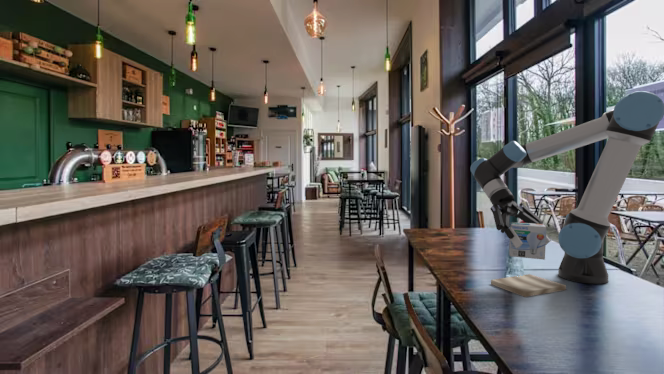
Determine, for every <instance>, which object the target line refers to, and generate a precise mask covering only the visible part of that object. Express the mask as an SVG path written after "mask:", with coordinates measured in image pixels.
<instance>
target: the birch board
mask: <svg viewBox="0 0 664 374" xmlns="http://www.w3.org/2000/svg"><path fill="white" fill-rule="evenodd" d="M522 275H523V276H521V275H514V276H508V277H501V278H494V279H491V280H490V285H492V286H494V287H497V288H501V289H503V290H506V291H508V292H511V293H514V294H515V295H519V296H521V297H524V298H528V297H533V296H538V295H539V296H540V295H543V294H544V295H545V294H551V293H554V292H562V291H566V290H567V287H566V286H567V285H566V284H563V283H560V282H556V281H554V280H549V279H547V278H543V277H540V276H537V275H533V274H530V273H527V274H522ZM517 276H518V277H517ZM519 276H520V277H519Z"/></svg>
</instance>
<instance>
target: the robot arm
mask: <svg viewBox="0 0 664 374" xmlns="http://www.w3.org/2000/svg"><path fill="white" fill-rule="evenodd" d="M663 118H664V101H663V100H662V98H660V96H658V95H657V94H656V93H653V92H651V91H644V90H643V91H642V90H641V91H640V90H639V91H634V92H630V93H628V94H626V95H625V96H622V97H621V98H620V99H619V100H618V101H617V103H615V106H614V108H613V109H611V110H609V111H606V112H604V113H603V114H602V116H601V117H599V118H595V119H592V120H590V121H586V122H584V123H581V124H579V125H575V126H572V127H570V128H567V129H564V130H561V131H558V132H556V133H553V134H550V135H547V136H545V137H542V138H539V139H537V140H533V141H531V142H527V143H526V144H522V145H521V144H520V143H518V142H517V141H516V140H510V141H509V142H508V143H507V144H504V146H503V147H501V148H500V149H499V150H498V151H497V152H495V153H494V154H493V155H492V156H491V157H490V158H488V159H487V158H485V157H481V158H478V159H477V160H474V162H472V163H471V165H470V169H469V170H470V173H471V174H472V176H473V178H474V180H475V181H476V182H477V184H479V186H480V188H481V189H482V191H483V192H484V194H485V195H486V196H487V198H488V199H489V201H490V203H491V207H490V208H489V209H490V211H491V212H492V216H493V219H494V224H495V227H496V230H497V231H500V233H502V234H505V235H506V236H507V238H508V239H509V241H510V240H511V241H512V243H513V244H514V246H515V247H516V249H517V248H519V247H520V246H521V245H522V244H523V243H522V241H521V240H520V238H519V237H518V235H517V234H516V232H515V231H514V229H513V228H512V227H510V217H514V218H516V219H519V220H521V221H523V223H534V224H544V221H543V220H542V219H540V218H539V217H538V216H537V215H536V214H535V213H533V211H531V209H529V208H528V207H527V206H526V205H525V203H524V202H520V203H519V204H518V203H517V202H516V201H515V196H514V195H513V193H512V192H511V190H510V189H509V187H508V185H507V184H506V183H505V182H504V181H503V179H502V178H501V176H503V175H504V174H505V173H506V172H508V171H509V170H510V169H513V168H514V169H518V168H522V167H524V166H526V165H529V164H531V163H534V162H538V161H540V160H543V159H548V158H551V157H554V156H557V155H559V154H563V153H566V152H569V151H571V150H575V149H578V148H582V147H585V146H587V145H591V144H593V143H598V142H600V141H604V140H607V141H606V143H605V146H604V148H603V150H602V152H601V154H600V157H599V159H598V161H597V164H596V165H595V168H594V170H593V172H592V175H591V177H590V179H589V181H588V184H587V186H586V188H585V190H584V193H583V195H582V196H581V199H580V202H579V204H578V206H577V208H574V209H572V210H570V211H569V212H568V213H567V214H566V216H565V220H564V225H563V226H562V228H561V229H560V230H559V233H558V238H557V239H558V240H557V241H558V244H559V247H560V248H561V250H562V251H563V252H564V254H563V257H562V259H561V262H560V264H559V267H558V270H557V271H558V272H557V273H558V276H559V277H560V278H562V279H564V280H568V281H572V282H577V283H583V284H589V285H590V284H594V285H597V284H598V285H599V284H600V285H601V284H606V283H608V282H609V274H608V273H609V272H608V270H607V268H606V263H605V260H604V240H605V237H606V235H607V234H608V231H609V229H610V226H611V223H610V221H609V215H610V213H611V211H612V210H613V207H614V205H615V203H616V200H617V199H618V197H619V195H620V192H621V190H622V188H623V185H624V183H625V181H626V179H627V178H628V175H629V174H630V173H629V172H630V171H631V169H632V166H633V165H634V162H635V161H636V158H637V156H638V154H639V152H640V151H641V147H642V146H643V145H647V144H649V143H651V141H652V139H653V136H654V135H655V132H656V130H657V128H658V125H659V123H660V122H661V121H662V119H663ZM550 242H551V239H550V238H549V237H548V234H546V246H547V245H548V244H549V243H550Z"/></svg>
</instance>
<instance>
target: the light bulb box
mask: <svg viewBox="0 0 664 374" xmlns="http://www.w3.org/2000/svg"><path fill="white" fill-rule="evenodd" d="M510 227H512V228H513V229H514V231H515V232H516V234H517V235H518V237H519V238H520V240H521V241H522V243H523V244H522V245H521V246H520V247H519V248H517V249H516V247H515V246H514V244H513V243H512V241H511V240H510V239H509V246H508V247H509V248H508V249H509V250H508V251H509V252H508V255H509V256H510V257H513V258H514V257H515V258H523V259H532V260H534V259H535V260H544V261H545V260H546V246H547V245H546V235H547V230H548V229H547V226H546V225H545V224H544V223H543V224H534V223H525V222H515V221H512V222H510V223H509V228H510Z"/></svg>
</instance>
